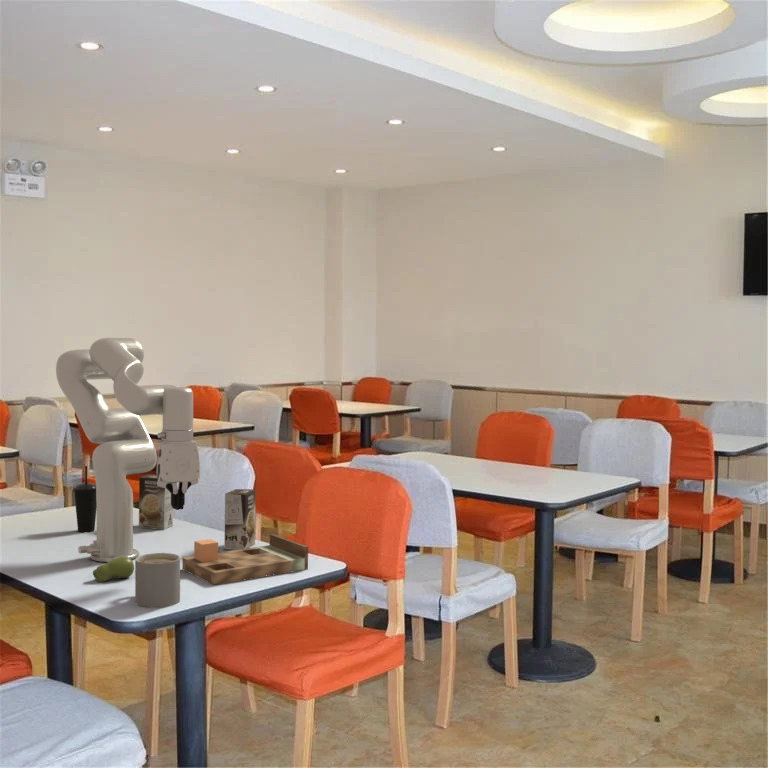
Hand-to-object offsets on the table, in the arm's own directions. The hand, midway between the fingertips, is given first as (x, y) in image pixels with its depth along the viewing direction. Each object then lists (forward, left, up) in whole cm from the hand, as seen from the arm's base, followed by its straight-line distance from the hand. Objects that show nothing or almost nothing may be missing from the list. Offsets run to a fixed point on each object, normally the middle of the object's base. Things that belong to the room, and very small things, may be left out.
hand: (177, 508), depth 233 cm
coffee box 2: (+28, +19, -17) cm, 38 cm away
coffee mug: (-13, -16, -17) cm, 27 cm away
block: (+8, 0, -14) cm, 16 cm away
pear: (-15, +6, -17) cm, 23 cm away
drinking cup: (-1, +63, -17) cm, 65 cm away
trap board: (+17, -4, -17) cm, 24 cm away
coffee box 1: (+19, +57, -17) cm, 62 cm away
